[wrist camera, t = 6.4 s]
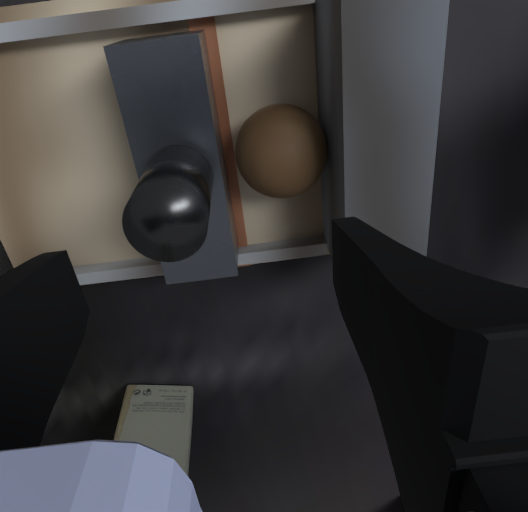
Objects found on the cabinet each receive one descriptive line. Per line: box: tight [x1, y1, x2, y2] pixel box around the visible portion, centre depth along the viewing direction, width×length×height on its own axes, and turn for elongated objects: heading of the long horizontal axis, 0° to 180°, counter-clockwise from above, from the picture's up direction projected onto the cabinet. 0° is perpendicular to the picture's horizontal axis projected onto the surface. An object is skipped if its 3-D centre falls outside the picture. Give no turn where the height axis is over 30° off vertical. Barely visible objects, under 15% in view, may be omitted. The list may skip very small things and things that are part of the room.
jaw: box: [103, 29, 238, 285], centre depth 16 cm, size 3×9×7 cm, turn 6°
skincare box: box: [114, 385, 193, 476], centre depth 25 cm, size 6×4×12 cm
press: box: [0, 0, 450, 285], centre depth 18 cm, size 19×12×7 cm, turn 96°
